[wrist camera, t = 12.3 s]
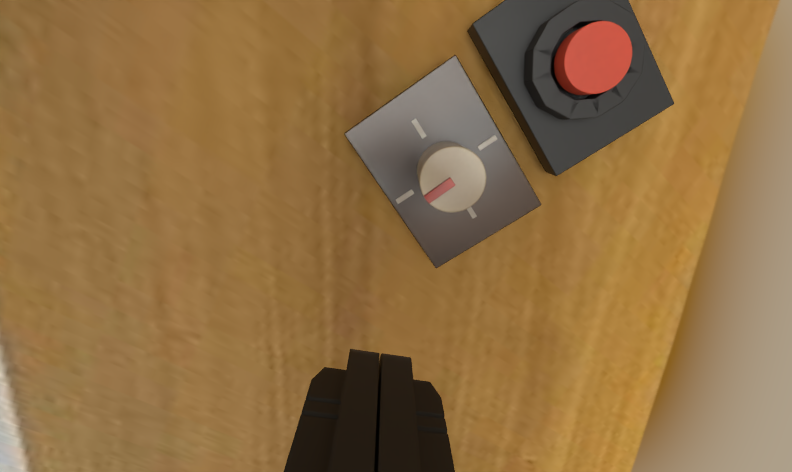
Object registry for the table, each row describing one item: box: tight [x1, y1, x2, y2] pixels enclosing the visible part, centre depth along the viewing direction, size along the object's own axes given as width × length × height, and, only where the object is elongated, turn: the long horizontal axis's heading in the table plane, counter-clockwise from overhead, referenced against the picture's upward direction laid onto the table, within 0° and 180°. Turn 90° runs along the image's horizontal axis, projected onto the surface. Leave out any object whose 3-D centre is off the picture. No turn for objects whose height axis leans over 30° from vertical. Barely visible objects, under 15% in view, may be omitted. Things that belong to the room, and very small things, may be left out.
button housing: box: [468, 0, 674, 176], centre depth 27 cm, size 12×9×4 cm
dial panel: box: [344, 55, 541, 268], centre depth 29 cm, size 12×9×3 cm
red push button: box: [554, 21, 632, 95], centre depth 24 cm, size 4×4×2 cm
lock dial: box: [417, 141, 486, 213], centre depth 25 cm, size 4×4×5 cm
